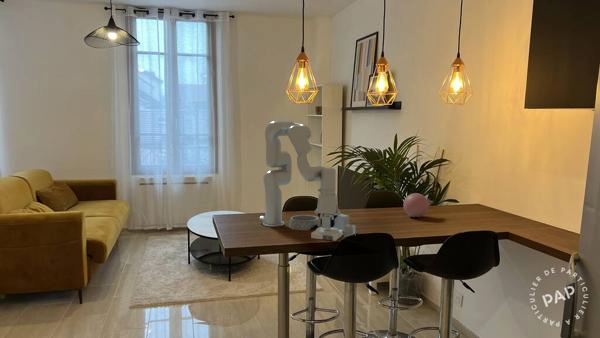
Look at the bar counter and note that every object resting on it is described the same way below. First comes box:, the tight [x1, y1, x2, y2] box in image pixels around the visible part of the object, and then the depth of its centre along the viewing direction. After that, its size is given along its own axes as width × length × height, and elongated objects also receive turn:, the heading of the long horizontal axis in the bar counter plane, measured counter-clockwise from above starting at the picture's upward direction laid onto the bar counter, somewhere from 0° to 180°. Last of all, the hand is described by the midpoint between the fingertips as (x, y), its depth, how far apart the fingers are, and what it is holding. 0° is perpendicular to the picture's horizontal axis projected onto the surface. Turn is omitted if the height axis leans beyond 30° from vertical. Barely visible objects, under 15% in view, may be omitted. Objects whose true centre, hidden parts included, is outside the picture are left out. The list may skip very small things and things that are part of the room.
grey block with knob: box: [322, 214, 332, 229], centre depth 220 cm, size 4×4×6 cm
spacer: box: [343, 223, 356, 238], centre depth 220 cm, size 4×4×6 cm
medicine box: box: [333, 213, 350, 233], centre depth 233 cm, size 8×4×9 cm, turn 43°
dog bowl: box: [288, 214, 321, 231], centre depth 242 cm, size 17×18×5 cm
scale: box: [310, 227, 344, 242], centre depth 220 cm, size 13×14×4 cm
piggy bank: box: [402, 192, 434, 218], centre depth 269 cm, size 15×20×15 cm
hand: (327, 226), depth 220 cm, fingers closed on grey block with knob, 4 cm apart
